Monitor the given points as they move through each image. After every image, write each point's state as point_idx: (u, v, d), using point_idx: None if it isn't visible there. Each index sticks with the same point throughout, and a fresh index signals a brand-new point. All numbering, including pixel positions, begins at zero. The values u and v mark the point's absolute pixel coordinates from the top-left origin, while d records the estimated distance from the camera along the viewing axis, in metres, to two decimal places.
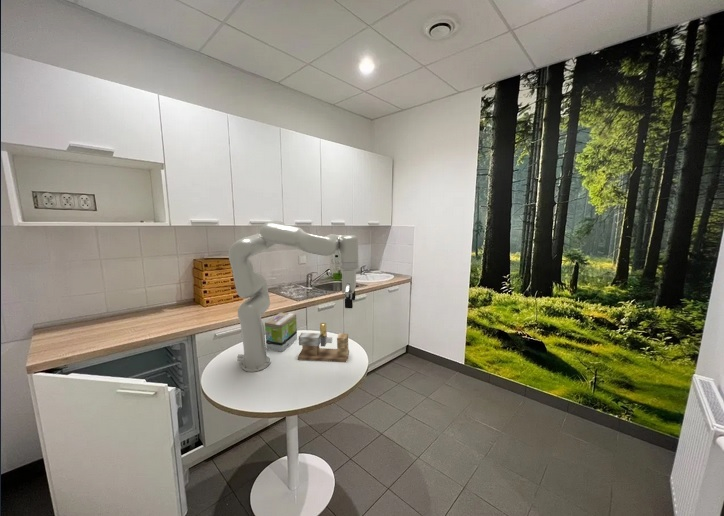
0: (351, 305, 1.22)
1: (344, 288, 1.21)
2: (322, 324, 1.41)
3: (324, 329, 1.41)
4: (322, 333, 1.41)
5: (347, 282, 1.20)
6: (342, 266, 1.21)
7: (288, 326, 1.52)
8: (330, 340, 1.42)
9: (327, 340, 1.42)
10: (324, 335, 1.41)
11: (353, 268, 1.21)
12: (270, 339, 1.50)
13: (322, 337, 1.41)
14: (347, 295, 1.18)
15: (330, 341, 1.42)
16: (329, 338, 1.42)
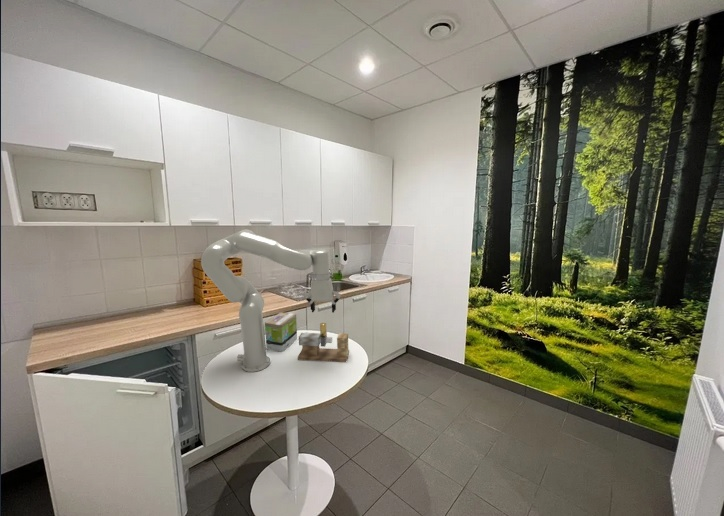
0: None
1: (332, 295, 1.36)
2: (322, 324, 1.41)
3: (324, 329, 1.41)
4: (322, 333, 1.41)
5: (332, 289, 1.37)
6: (325, 278, 1.34)
7: (288, 326, 1.52)
8: (330, 340, 1.42)
9: (327, 340, 1.42)
10: (324, 335, 1.41)
11: None
12: (270, 339, 1.50)
13: (322, 337, 1.41)
14: None
15: (330, 341, 1.42)
16: (329, 338, 1.42)
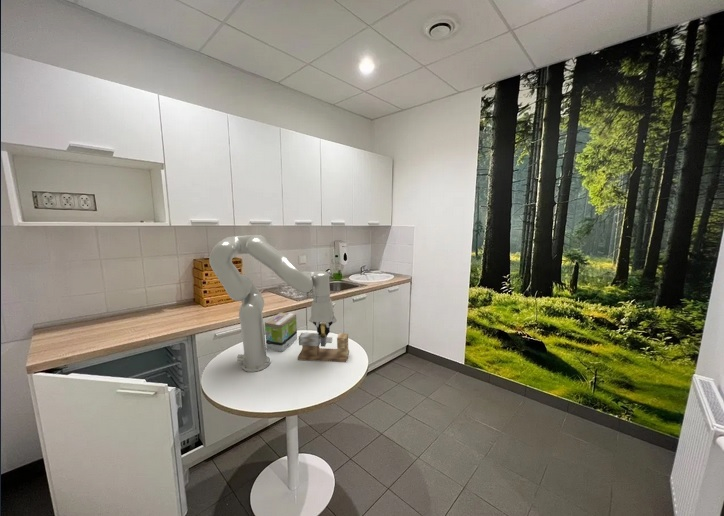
0: None
1: None
2: (322, 324, 1.41)
3: (324, 329, 1.41)
4: (322, 333, 1.41)
5: (332, 310, 1.39)
6: (326, 299, 1.36)
7: (288, 326, 1.52)
8: (330, 340, 1.42)
9: (327, 340, 1.42)
10: (324, 335, 1.41)
11: None
12: (270, 339, 1.50)
13: (322, 337, 1.41)
14: None
15: (330, 341, 1.42)
16: (329, 338, 1.42)
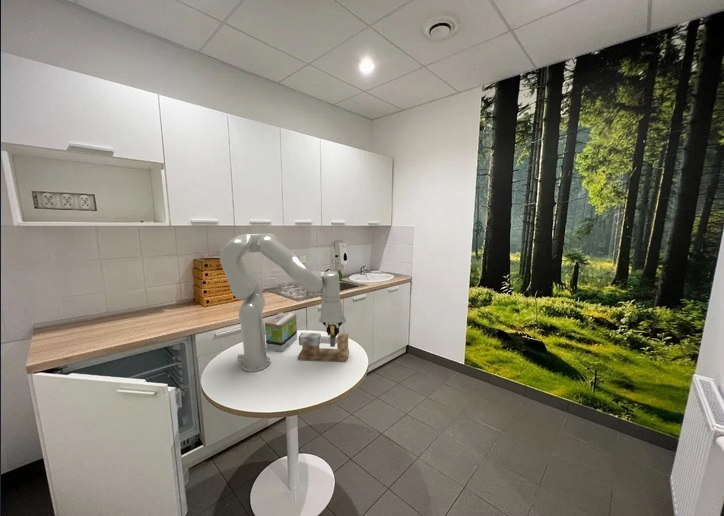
0: None
1: None
2: (332, 324, 1.41)
3: (334, 329, 1.40)
4: (332, 333, 1.40)
5: (342, 310, 1.39)
6: (336, 300, 1.35)
7: (288, 326, 1.52)
8: None
9: (336, 340, 1.41)
10: (334, 335, 1.41)
11: None
12: (270, 339, 1.50)
13: (332, 337, 1.40)
14: None
15: None
16: None
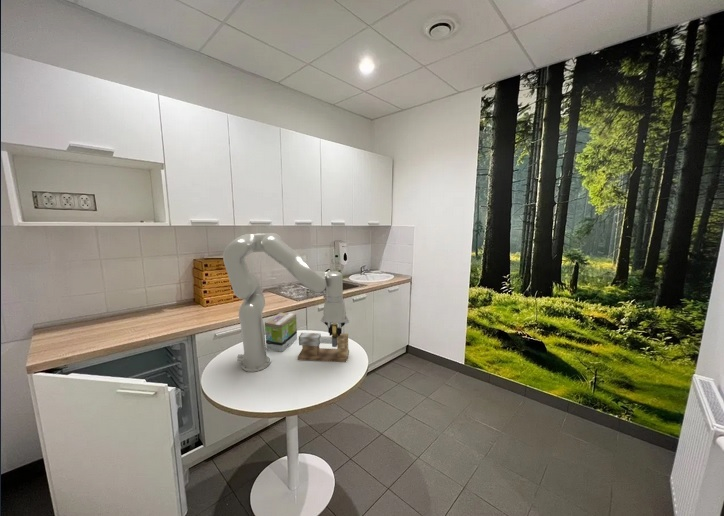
0: None
1: (343, 320, 1.38)
2: (333, 324, 1.40)
3: (335, 329, 1.40)
4: (333, 333, 1.40)
5: (345, 311, 1.39)
6: (339, 300, 1.35)
7: (288, 326, 1.52)
8: None
9: None
10: (335, 335, 1.41)
11: None
12: (270, 339, 1.50)
13: (333, 337, 1.40)
14: None
15: None
16: None
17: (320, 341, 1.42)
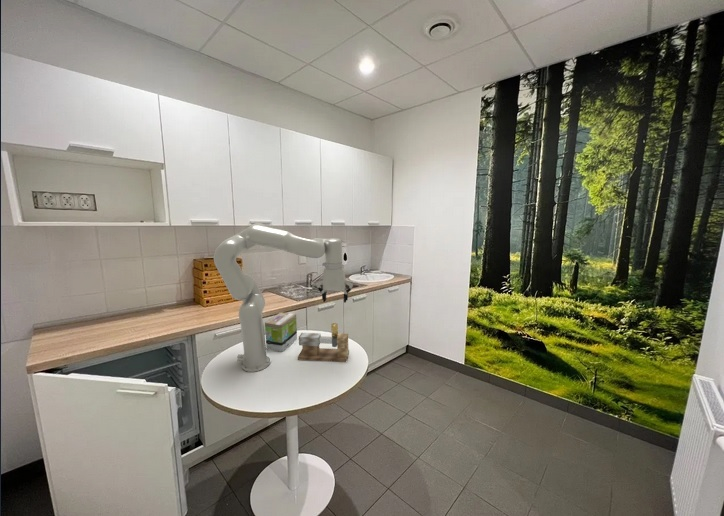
0: None
1: (344, 285, 1.35)
2: (333, 324, 1.40)
3: (335, 329, 1.40)
4: (333, 333, 1.40)
5: None
6: (338, 267, 1.32)
7: (288, 326, 1.52)
8: None
9: None
10: (335, 335, 1.41)
11: None
12: (270, 339, 1.50)
13: (333, 337, 1.40)
14: (351, 288, 1.36)
15: None
16: None
17: (320, 341, 1.42)
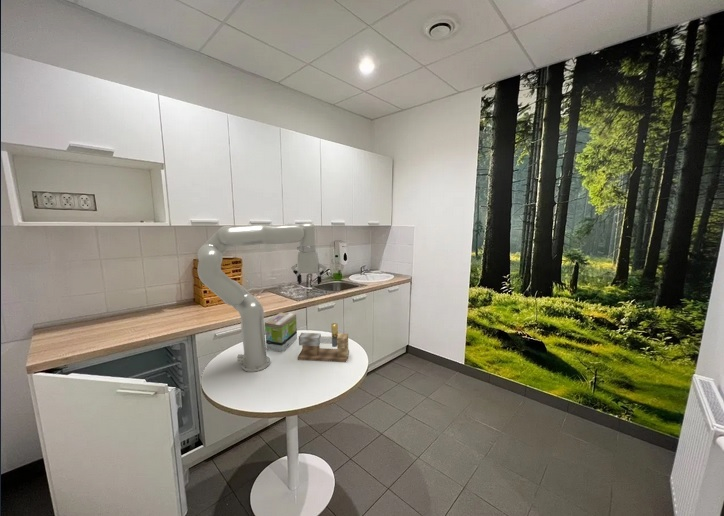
0: None
1: (318, 267, 1.43)
2: (333, 324, 1.40)
3: (335, 329, 1.40)
4: (333, 333, 1.40)
5: (318, 261, 1.43)
6: (311, 250, 1.40)
7: (288, 326, 1.52)
8: None
9: None
10: (335, 335, 1.41)
11: None
12: (270, 339, 1.50)
13: (333, 337, 1.40)
14: (324, 270, 1.44)
15: None
16: None
17: (320, 341, 1.42)
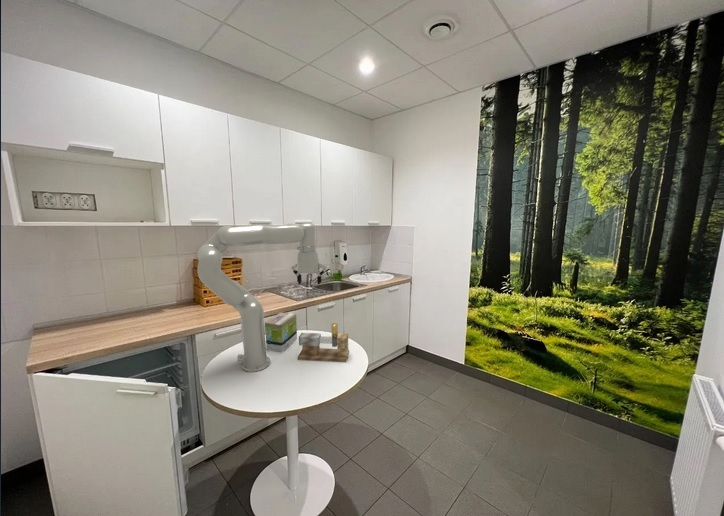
0: None
1: (318, 267, 1.43)
2: (333, 324, 1.40)
3: (335, 329, 1.40)
4: (333, 333, 1.40)
5: (318, 261, 1.43)
6: (311, 250, 1.40)
7: (288, 326, 1.52)
8: None
9: None
10: (335, 335, 1.41)
11: None
12: (270, 339, 1.50)
13: (333, 337, 1.40)
14: (324, 270, 1.44)
15: None
16: None
17: (320, 341, 1.42)
